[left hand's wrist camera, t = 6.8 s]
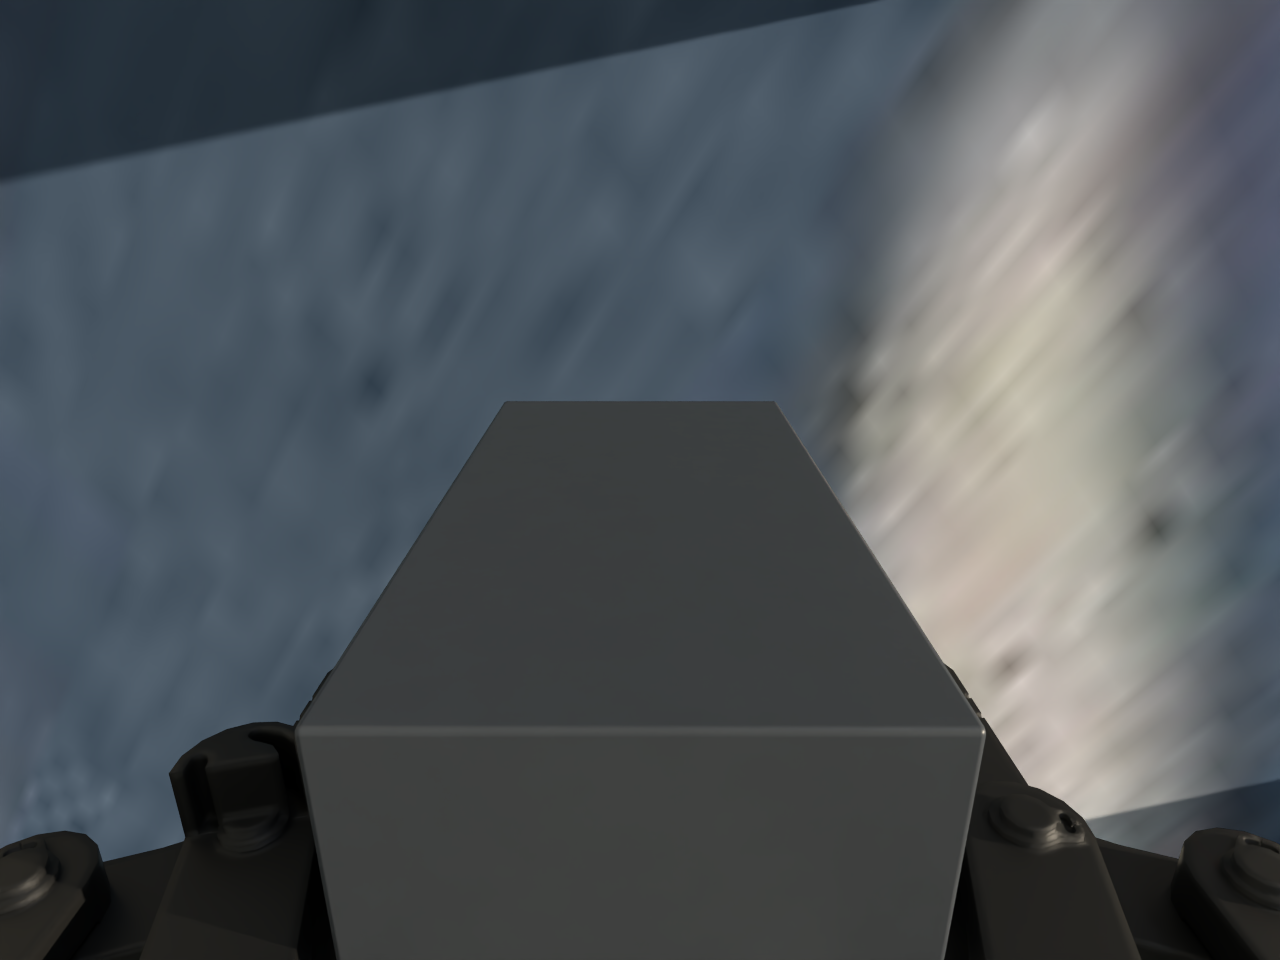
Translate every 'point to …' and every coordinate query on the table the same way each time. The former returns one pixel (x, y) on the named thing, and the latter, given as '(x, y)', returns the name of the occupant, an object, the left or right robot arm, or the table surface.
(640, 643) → the bar
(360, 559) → the table surface
